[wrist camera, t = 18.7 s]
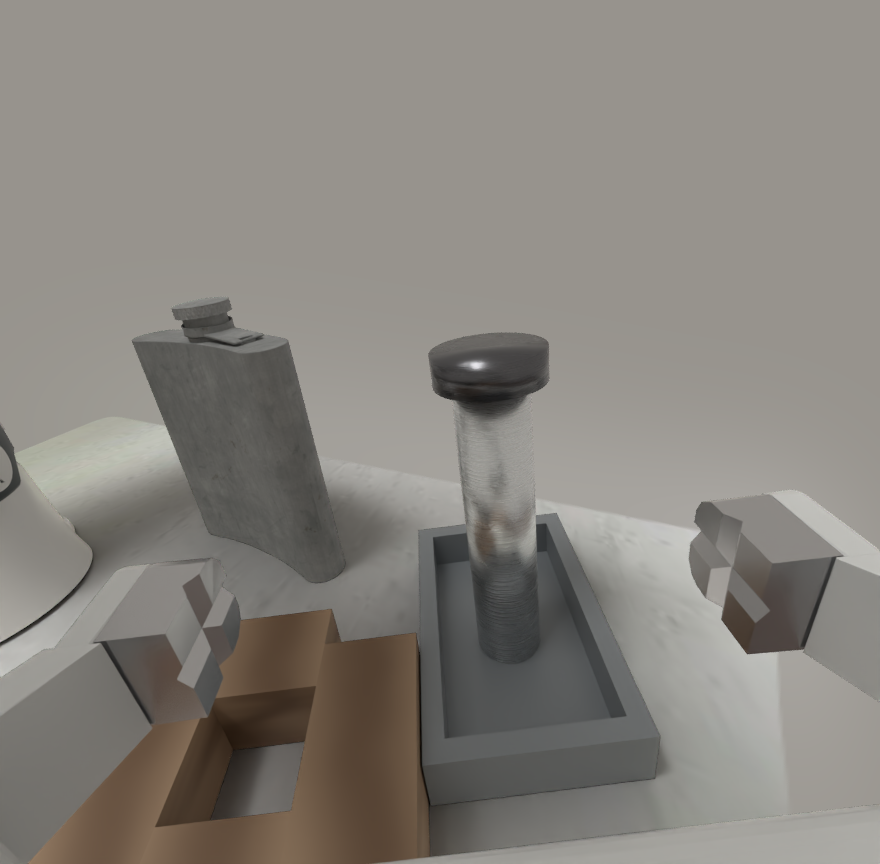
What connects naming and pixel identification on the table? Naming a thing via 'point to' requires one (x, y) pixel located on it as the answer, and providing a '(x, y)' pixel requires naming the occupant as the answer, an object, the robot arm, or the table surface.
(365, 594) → the table surface
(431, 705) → the tray
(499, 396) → the steel pin
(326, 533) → the hip flask
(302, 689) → the block
